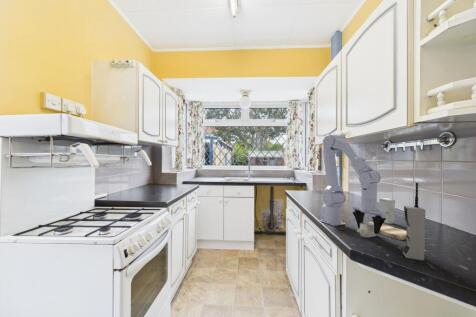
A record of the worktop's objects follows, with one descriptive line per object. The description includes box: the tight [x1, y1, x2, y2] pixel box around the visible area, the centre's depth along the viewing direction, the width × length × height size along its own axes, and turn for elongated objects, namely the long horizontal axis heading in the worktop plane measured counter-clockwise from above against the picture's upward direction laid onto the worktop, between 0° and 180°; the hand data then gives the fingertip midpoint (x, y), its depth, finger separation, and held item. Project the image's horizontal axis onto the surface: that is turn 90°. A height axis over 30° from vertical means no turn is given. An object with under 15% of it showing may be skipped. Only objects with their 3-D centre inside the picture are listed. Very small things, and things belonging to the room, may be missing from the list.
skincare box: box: [378, 197, 396, 225], centre depth 121 cm, size 6×4×12 cm
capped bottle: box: [356, 221, 378, 238], centre depth 100 cm, size 4×10×5 cm, turn 114°
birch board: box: [379, 223, 407, 241], centre depth 104 cm, size 16×10×2 cm, turn 24°
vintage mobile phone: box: [402, 182, 426, 261], centre depth 78 cm, size 4×5×25 cm
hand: (368, 230), depth 100 cm, fingers open, 7 cm apart
